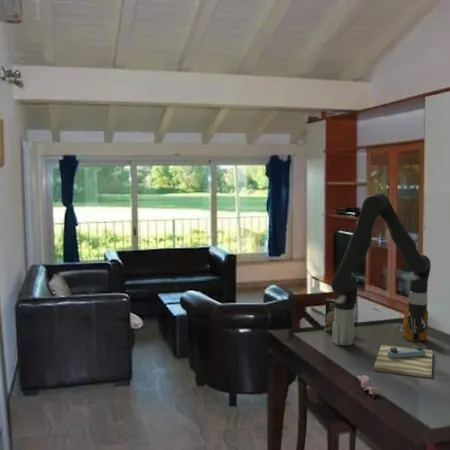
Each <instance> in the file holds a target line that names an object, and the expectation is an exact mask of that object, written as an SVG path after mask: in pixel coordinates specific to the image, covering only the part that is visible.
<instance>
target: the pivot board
mask: <svg viewBox="0 0 450 450" xmlns="http://www.w3.org/2000/svg"><path fill="white" fill-rule="evenodd" d="M402 349H412V347H411V348H410V347H405V346H404V347H403V346H395V345H387V344H386V345H385V344H381V345H380V348H379V350H378V353H377V356H376V358H375V359H376V360H375V362H374V365H373V371H374V372H375V371H376V372H383V373H389V374H390V373H392V374H397V375H405V376H406V375H407V376H413V377H420V378H428V379H432V375H433V374H432V372H433V371H432V369H433V353H434V352H433V350H429V349H423V350H424V351H425V356H413V357H400V358H390V357H388V356H387V353H388V350H390V351H391V352H397V350H402Z"/></svg>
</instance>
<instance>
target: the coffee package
mask: <svg viewBox="0 0 450 450" xmlns="http://www.w3.org/2000/svg"><path fill="white" fill-rule="evenodd" d="M408 305H409V299H408V300H407V303H406V304H405V308H404V314H403V319H402V324H403V325H402V326H403V327H402V336H403V337H405V339H406V340H408V341H409V342H415V341H413V332H412V329H410V326H409V323H408V320H407V316H410V312H409V311H408ZM424 323H425V324H427V327H426V329H425V330H424V332H423V333H420V334H419V341H418V342H420V341H421V342H423V341H427V340H428V330H429V327H428V324H429V312H428V310H427V313H426V314H424Z"/></svg>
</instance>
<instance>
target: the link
mask: <svg viewBox="0 0 450 450" xmlns="http://www.w3.org/2000/svg"><path fill="white" fill-rule="evenodd" d="M424 350H425V349H417V348H416V349H402V350H397V352H391V351H390V350H388V353H387V356H388V357H390V358H400V357H413V356H425V351H424Z"/></svg>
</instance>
